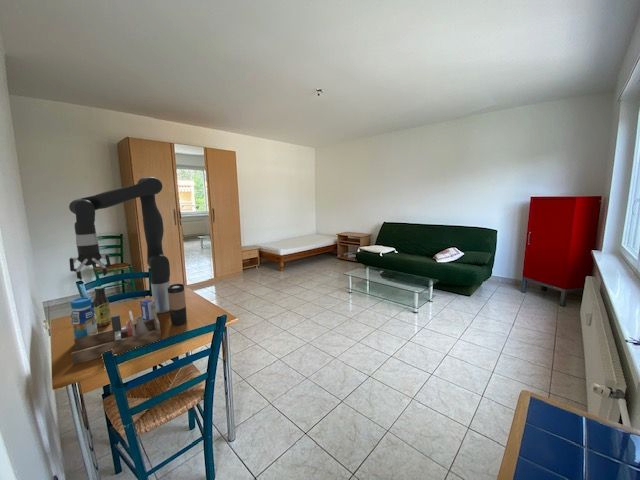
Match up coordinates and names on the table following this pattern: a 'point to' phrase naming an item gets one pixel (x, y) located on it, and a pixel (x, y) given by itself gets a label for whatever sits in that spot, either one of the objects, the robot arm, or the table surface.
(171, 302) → the travel mug
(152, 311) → the walkman
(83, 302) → the blue-lidded jar
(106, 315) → the sauce bottle
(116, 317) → the kicker
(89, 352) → the brown wooden open box
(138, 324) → the flask
